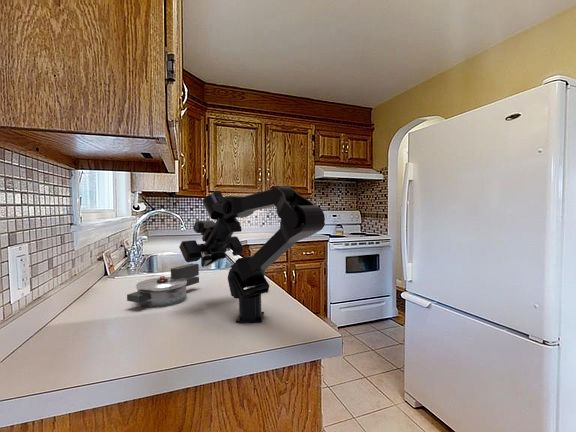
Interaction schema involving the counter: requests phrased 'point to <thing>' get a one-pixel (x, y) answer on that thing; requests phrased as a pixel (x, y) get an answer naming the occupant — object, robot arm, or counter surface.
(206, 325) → the counter surface
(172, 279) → the lid
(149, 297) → the grey round flat pan
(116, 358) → the counter surface
